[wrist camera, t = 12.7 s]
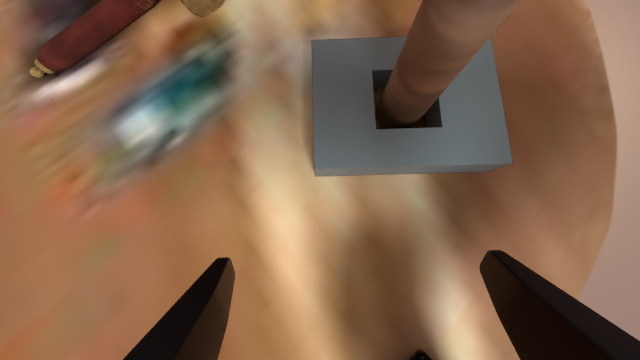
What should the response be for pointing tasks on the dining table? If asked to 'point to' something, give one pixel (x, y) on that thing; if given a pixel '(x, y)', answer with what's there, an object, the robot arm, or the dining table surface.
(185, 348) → the robot arm
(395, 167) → the socket board
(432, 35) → the peg
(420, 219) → the dining table surface
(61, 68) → the gavel
